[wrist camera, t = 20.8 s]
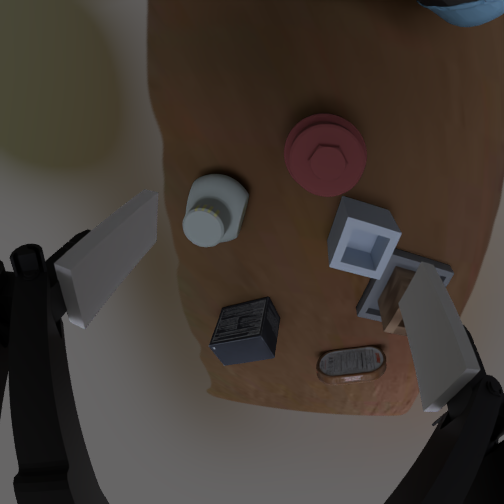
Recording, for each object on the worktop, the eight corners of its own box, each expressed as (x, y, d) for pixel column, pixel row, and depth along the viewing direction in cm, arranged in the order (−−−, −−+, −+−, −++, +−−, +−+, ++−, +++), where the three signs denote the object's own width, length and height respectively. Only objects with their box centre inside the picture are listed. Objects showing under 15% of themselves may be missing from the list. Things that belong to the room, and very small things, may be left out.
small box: (235, 329, 63) (223, 367, 54) (220, 307, 60) (206, 345, 51) (281, 319, 59) (275, 360, 50) (269, 295, 56) (260, 335, 47)
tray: (386, 245, 47) (389, 253, 44) (449, 265, 46) (454, 273, 44) (356, 307, 54) (357, 316, 52) (415, 320, 53) (418, 329, 51)
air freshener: (203, 163, 45) (178, 183, 37) (254, 177, 45) (241, 201, 37) (193, 223, 51) (170, 253, 43) (239, 237, 51) (224, 270, 42)
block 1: (342, 195, 44) (348, 216, 37) (388, 210, 44) (401, 233, 37) (327, 239, 48) (329, 266, 42) (371, 252, 48) (379, 280, 41)
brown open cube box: (395, 265, 47) (406, 295, 40) (431, 276, 47) (445, 305, 40) (377, 300, 52) (383, 331, 45) (412, 309, 51) (421, 338, 44)
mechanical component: (331, 188, 44) (275, 152, 42) (370, 136, 38) (312, 96, 37) (338, 223, 33) (263, 175, 32) (391, 154, 28) (313, 98, 27)
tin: (317, 358, 63) (316, 388, 56) (315, 349, 62) (314, 380, 55) (383, 350, 59) (388, 380, 52) (384, 340, 58) (389, 371, 50)
